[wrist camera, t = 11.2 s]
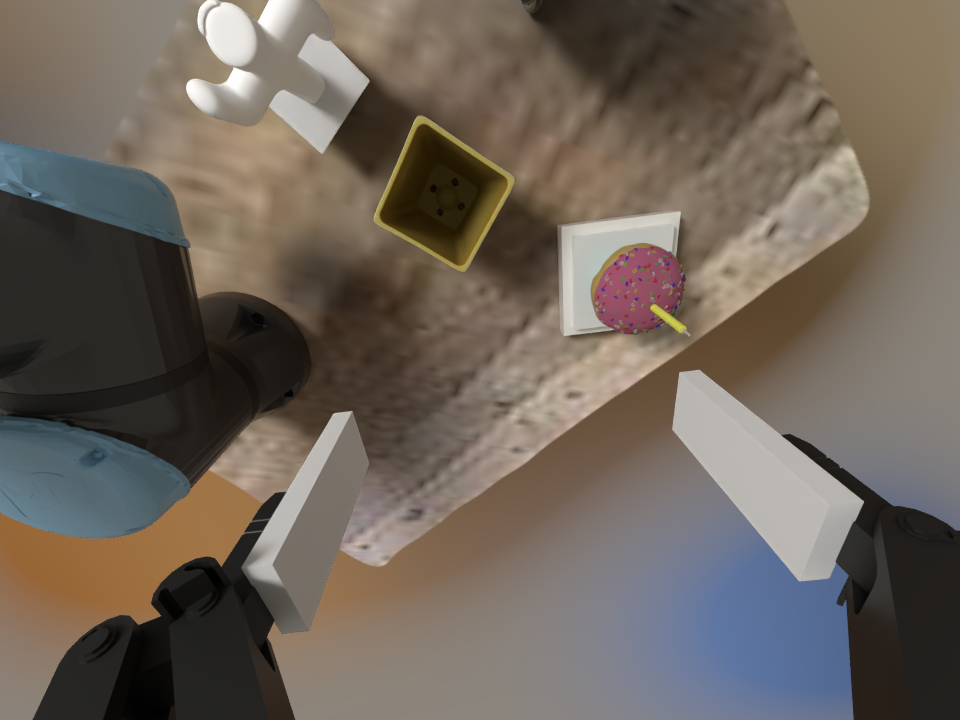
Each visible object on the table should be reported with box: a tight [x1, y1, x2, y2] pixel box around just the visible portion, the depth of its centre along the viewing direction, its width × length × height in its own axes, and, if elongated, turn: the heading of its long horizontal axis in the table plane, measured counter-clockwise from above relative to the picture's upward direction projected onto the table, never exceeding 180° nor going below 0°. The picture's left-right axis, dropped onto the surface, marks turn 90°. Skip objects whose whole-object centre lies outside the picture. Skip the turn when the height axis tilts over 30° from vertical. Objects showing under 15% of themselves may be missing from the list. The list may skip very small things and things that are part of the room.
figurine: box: [186, 0, 370, 154], centre depth 27 cm, size 7×10×15 cm
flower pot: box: [374, 116, 515, 272], centre depth 33 cm, size 9×9×9 cm
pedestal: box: [557, 210, 681, 336], centre depth 40 cm, size 12×12×3 cm
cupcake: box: [591, 243, 691, 337], centre depth 33 cm, size 9×8×12 cm
